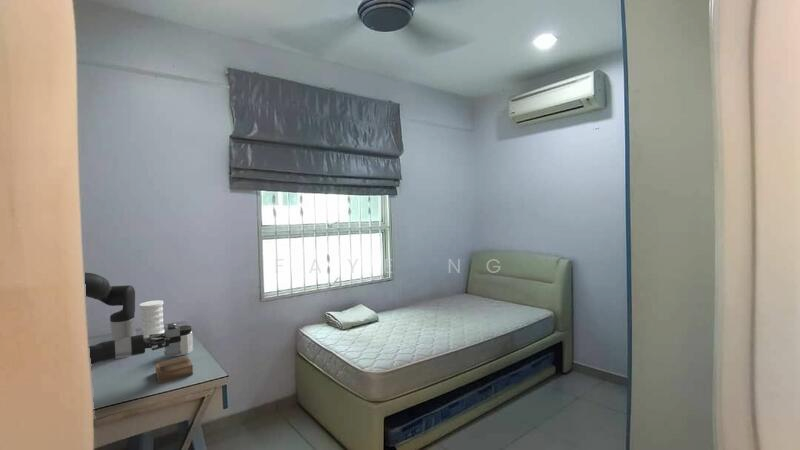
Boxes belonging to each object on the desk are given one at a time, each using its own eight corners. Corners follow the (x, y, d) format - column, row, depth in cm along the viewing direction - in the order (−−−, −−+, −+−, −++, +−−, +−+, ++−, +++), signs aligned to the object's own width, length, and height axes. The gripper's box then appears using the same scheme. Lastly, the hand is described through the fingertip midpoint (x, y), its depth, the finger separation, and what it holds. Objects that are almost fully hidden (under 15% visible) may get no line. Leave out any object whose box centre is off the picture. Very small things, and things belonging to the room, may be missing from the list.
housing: (164, 353, 151) (163, 323, 151) (179, 349, 155) (178, 321, 154) (165, 357, 147) (164, 327, 146) (181, 353, 150) (180, 324, 150)
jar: (185, 356, 169) (184, 331, 168) (168, 356, 169) (167, 331, 168) (196, 348, 178) (195, 324, 177) (179, 348, 178) (178, 325, 177)
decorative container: (167, 330, 204) (165, 299, 203) (163, 337, 194) (162, 304, 193) (142, 333, 199) (141, 301, 198) (138, 340, 189) (136, 307, 188)
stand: (155, 372, 153) (155, 363, 152) (188, 364, 160) (187, 355, 160) (158, 383, 143) (158, 373, 143) (192, 374, 151) (192, 365, 151)
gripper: (130, 342, 136) (182, 332, 147) (128, 332, 147) (177, 323, 158) (130, 361, 136) (182, 350, 147) (129, 350, 147) (177, 340, 158)
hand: (179, 336), depth 152 cm, fingers closed on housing, 5 cm apart
